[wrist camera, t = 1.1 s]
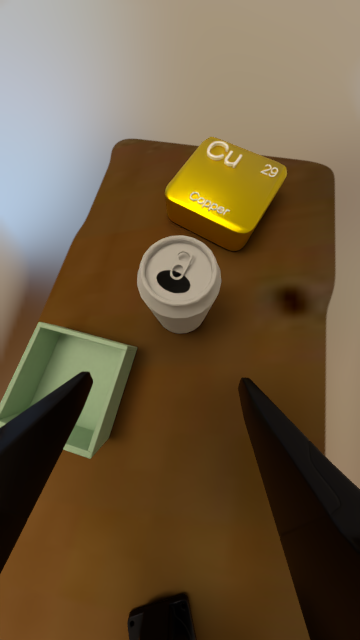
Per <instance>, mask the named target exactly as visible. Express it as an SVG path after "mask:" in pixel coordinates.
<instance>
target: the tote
mask: <svg viewBox="0 0 360 640" xmlns="http://www.w3.org/2000/svg"><path fill="white" fill-rule="evenodd" d="M136 351H137V347H134V346H131V345H127V344H123V343H120V342H116V341H112V340H109V339H105V338H102V337H98V336H94V335H91V334H87V333H83V332H80V331H76V330H72V329H69V328H65V327H61V326H56V325H52V324H48V323H43V322H38V325H37V327H36V329H35V331H34V333H33V335H32V337H31V339H30V341H29V344H28V346H27V348H26V350H25V352H24V354H23V356H22V358H21V361H20V363H19V365H18V367H17V369H16V371H15V374H14V376H13V378H12V380H11V382H10V384H9V386H8V388H7V390H6V392H5V395H4V397H3V399H2V401H1V403H0V427H2V426H3V425H5V424H6V423H8V422H9V421H11V420H12V419H13V418H15V417H16V416H18V415H19V414H21V413H22V412H24V411H25V410H26V409H28V408H29V407H31V406H32V405H34V404H35V403H37V402H38V401H39V400H41V399H42V398H44V397H45V396H47V395H48V394H50V393H51V392H53V391H54V390H55V389H57V388H58V387H60V386H61V385H63V384H64V383H66V382H67V381H68V380H70V379H71V378H73V377H74V376H76V375H77V374H79V373H80V372H82V371H88V372H90V374H91V376H92V379H93V385H92V388H91V390H90V393H89V396H88V398H87V401H86V403H85V406H84V408H83V410H82V413H81V415H80V417H79V419H78V421H77V423H76V425H75V427H74V429H73V430H72V432H71V434H70V436H69V438H68V440H67V442H66V444H65V446H64V448H63V450H66V451H69V452H72V453H75V454H78V455H81V456H84V457H87V458H90V459H91V458H92V456H93V455H94V454H95V453H96V452H97V451H98V450H99V449H100V447H101V446H102V445H103V444H104V443H105V442H106V441H107V440H108V439H109V435H110V432H111V429H112V426H113V423H114V420H115V417H116V414H117V410H118V407H119V404H120V401H121V398H122V395H123V392H124V388H125V385H126V382H127V379H128V376H129V373H130V370H131V366H132V363H133V360H134V357H135V354H136Z"/></svg>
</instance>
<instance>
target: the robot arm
mask: <svg viewBox="0 0 360 640" xmlns="http://www.w3.org/2000/svg"><path fill="white" fill-rule="evenodd" d="M92 385H93V379H92V376H91V374H90V372H88V371H82V372H80V373H79V374H77V375H76V376H74V377H73V378H71V379H70V380H68V381H67V382H66V383H64V384H63V385H61V386H60V387H58V388H57V389H55V390H54V391H53V392H51V393H50V394H48V395H47V396H45V397H44V398H42V399H41V400H39V401H38V402H37V403H35V404H34V405H32V406H31V407H29V408H28V409H26V410H25V411H24V412H22V413H21V414H19V415H18V416H16V417H15V418H13V419H12V420H11V421H9V422H8V423H6V424H5V425H3V426H2V427H0V573H1V571H2V569H3V567H4V565H5V564H6V562H7V560H8V558H9V556H10V554H11V552H12V550H13V548H14V546H15V544H16V542H17V540H18V538H19V536H20V534H21V532H22V530H23V528H24V526H25V524H26V522H27V519H28V518H29V516H30V514H31V512H32V510H33V508H34V506H35V504H36V502H37V500H38V498H39V496H40V494H41V492H42V490H43V488H44V486H45V484H46V482H47V480H48V478H49V476H50V474H51V472H52V470H53V468H54V466H55V464H56V462H57V460H58V458H59V456H60V454H61V452H62V450H63V448H64V446H65V444H66V442H67V440H68V438H69V436H70V434H71V432H72V430H73V429H74V427H75V425H76V423H77V421H78V419H79V417H80V415H81V413H82V410H83V408H84V406H85V403H86V401H87V398H88V396H89V393H90V390H91V388H92ZM238 390H239V396H240V401H241V406H242V411H243V416H244V420H245V424H246V427H247V430H248V434H249V437H250V440H251V444H252V447H253V450H254V454H255V457H256V460H257V463H258V467H259V470H260V473H261V477H262V480H263V483H264V487H265V490H266V493H267V497H268V500H269V503H270V507H271V510H272V513H273V517H274V520H275V523H276V527H277V530H278V533H279V536H280V540H281V544H282V547H283V550H284V553H285V557H286V560H287V563H288V567H289V570H290V573H291V577H292V580H293V583H294V587H295V590H296V593H297V597H298V600H299V603H300V607H301V610H302V613H303V617H304V620H305V623H306V627H307V630H308V633H309V637H310V640H360V489H359V488H358V487H357V486H356V485H354V484H353V483H352V482H351V481H350V480H349V479H348V478H347V477H346V476H345V475H344V474H343V473H342V472H341V471H340V470H339V469H338V468H336V467H335V466H334V465H333V464H332V463H331V462H330V461H329V460H328V459H327V458H326V457H325V456H324V455H323V454H322V453H321V452H320V451H319V450H318V449H317V448H316V447H315V446H314V444H313V443H312V442H311V441H309V440H308V438H307V437H306V436H305V435H304V434H303V433H302V432H301V431H300V430H299V429H298V428H297V427H296V426H295V425H294V424H293V423H292V422H291V421H290V420H289V419H288V418H287V417H286V416H285V415H284V414H283V413H282V411H281V410H280V409H279V408H278V407H277V406H276V405H275V404H274V403H273V402H272V401H271V400H270V399H269V398H268V397H267V396H266V395H265V394H264V393H263V392H262V391H261V390H260V389H259V388H258V387H257V386H256V385H255V384H254V383H253V381H252V380H251V379H249V378H241V380H240V383H239V387H238ZM183 603H185V604H183ZM128 632H129V640H196V635H195V630H194V625H193V620H192V615H191V610H190V605H189V600H188V597H187V596H186V595H185V594H181V595H178V596H175V597H172V598H169V599H166V600H164V601H161V602H158V603H155V604H152V605H149V606H146V607H143V608H140V609H137V610H134V611H132V612H131V613H130V614H129V618H128Z"/></svg>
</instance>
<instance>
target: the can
mask: <svg viewBox="0 0 360 640" xmlns="http://www.w3.org/2000/svg"><path fill="white" fill-rule="evenodd" d="M220 285H221V273H220V268H219V266H218V264H217V261H216V259H215V257H214V255H213V253H212V251H211V250H210V249H209V248H208V247H207V246H206V245H205V244H204V243H202V242H201V241H199V240H197V239H195V238H192V237H188V236H183V235H181V236H170V237H167V238H164V239H161V240H159V241H158V242H156V243H155V244H153V245H152V246H151V247H150V248H149V249H148V250H147V251H146V253H145V254H144V256H143V258H142V261H141V264H140V269H139V271H138V278H137V286H138V289H139V292H140V295H141V298H142V299H143V300H144V302H145V303H146V304H147V306H148V307H149V308H150V310H151V311H152V312H153V314H154V315H155V316H156V318H157V319H158V320H159V322H160V323H161V324H162V326H163V327H164V328H166V329H167V330H169V331H171V332H175V333H188V332H190V331H193V330H195V329H196V328H197V327H198V326H200V324H201V323H202V321H203V320H204V318H205V317H206V315H207V313H208V311H209V310H210V308H211V306H212V304H213V303H214V301H215V299H216V297H217V295H218V293H219V289H220Z"/></svg>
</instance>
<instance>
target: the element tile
mask: <svg viewBox="0 0 360 640" xmlns="http://www.w3.org/2000/svg"><path fill="white" fill-rule="evenodd" d="M286 175H287V170H286V167H285V166H284V165H282V164H280V163H278V162H276V161H273V160H271V159H268V158H266V157H263V156H261V155H258V154H256V153H253V152H251V151H248V150H246V149H243V148H241V147H238V146H235V145H233V144H231V143H228V142H226V141H223V140H221V139H218V138H214V137H210V138H208V139H206V140H205V141H203V142H202V144H201V145H200V146H199V147H198V148H197V150H196V151H195V152H194V153H193V155H192V156H191V157H190V158H189V160H188V161H187V162H186V163H185V164H184V166H183V167H182V168H181V169H180V171H179V172H178V173H177V174H176V176H175V177H174V178H173V179H172V180H171V182H170V183H169V184H168V185H167V187H166V190H165V198H166V207H167V214H168V217H169V219H170V220H171V221H172V222H174V223H176V224H178V225H180V226H182V227H184V228H186V229H188V230H190V231H192V232H194V233H196V234H198V235H199V236H201V237H203V238H205V239H207V240H209V241H211V242H213V243H215V244H217V245H219V246H221V247H223V248H225V249H227V250H230V251H237V250H240V249H241V248H243V247H244V245H245V244H246V242H247V241H248V239H249V238H250V236H251V234H252V233H253V231H254V230H255V228H256V226H257V225H258V223H259V221H260V220H261V218H262V217H263V215H264V213H265V212H266V210H267V209H268V207H269V205H270V204H271V202H272V200H273V199H274V197H275V195H276V194H277V192H278V190H279V188H280V187H281V185H282V183H283V181H284V180H285V178H286Z"/></svg>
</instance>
